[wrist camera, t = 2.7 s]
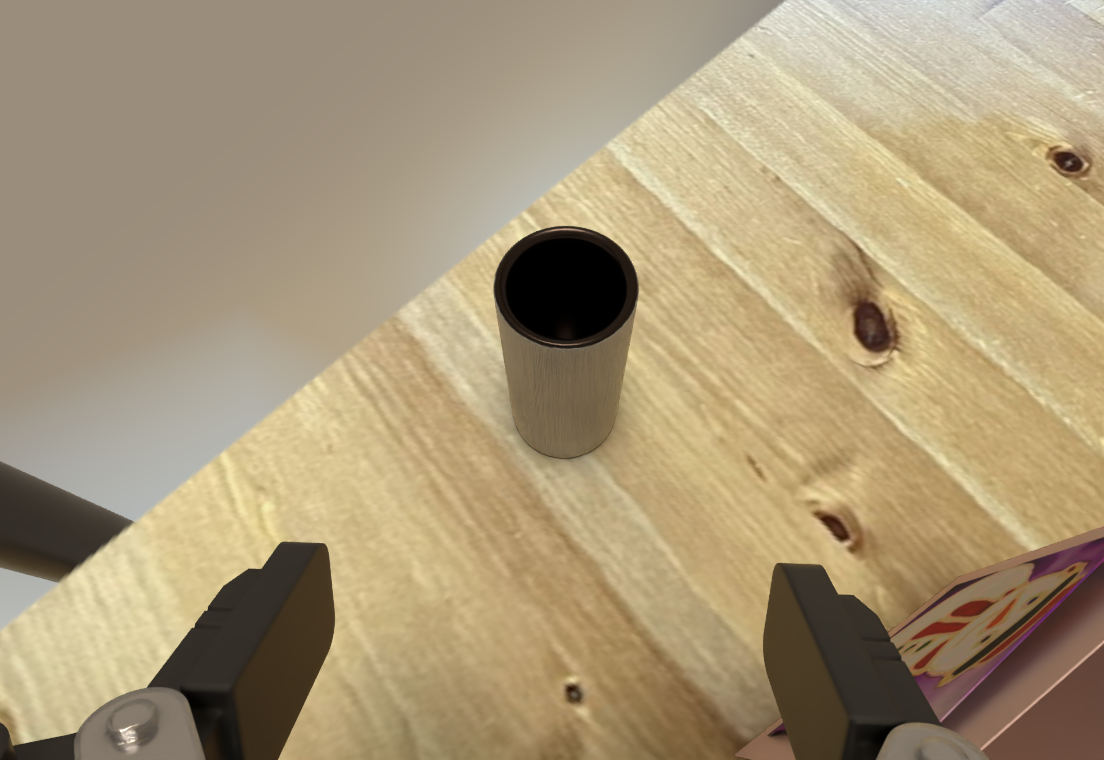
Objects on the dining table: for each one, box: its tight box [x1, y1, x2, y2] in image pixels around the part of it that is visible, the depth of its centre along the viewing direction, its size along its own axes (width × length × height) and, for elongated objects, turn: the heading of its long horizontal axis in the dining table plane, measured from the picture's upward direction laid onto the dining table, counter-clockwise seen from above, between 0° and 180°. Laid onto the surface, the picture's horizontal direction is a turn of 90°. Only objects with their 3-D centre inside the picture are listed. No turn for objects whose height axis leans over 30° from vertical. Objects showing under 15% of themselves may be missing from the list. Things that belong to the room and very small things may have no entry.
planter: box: [494, 226, 639, 458], centre depth 27 cm, size 4×4×10 cm
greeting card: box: [734, 527, 1104, 760], centre depth 20 cm, size 11×7×15 cm, turn 123°
